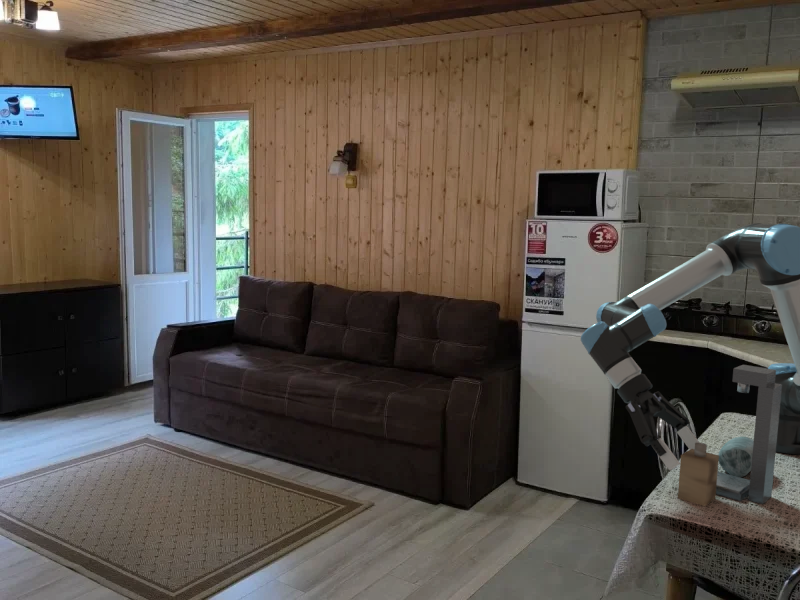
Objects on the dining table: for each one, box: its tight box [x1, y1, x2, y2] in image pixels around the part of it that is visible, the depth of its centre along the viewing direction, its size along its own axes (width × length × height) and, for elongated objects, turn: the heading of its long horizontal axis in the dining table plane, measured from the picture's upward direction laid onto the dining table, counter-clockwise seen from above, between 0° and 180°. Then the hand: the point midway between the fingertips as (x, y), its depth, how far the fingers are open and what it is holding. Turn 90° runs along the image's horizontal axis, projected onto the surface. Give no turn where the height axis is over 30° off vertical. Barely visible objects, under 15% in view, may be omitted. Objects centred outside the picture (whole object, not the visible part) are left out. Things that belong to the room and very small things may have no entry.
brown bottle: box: [677, 442, 719, 507], centre depth 157 cm, size 6×6×12 cm
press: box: [716, 364, 782, 505], centre depth 161 cm, size 10×14×29 cm
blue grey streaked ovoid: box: [717, 436, 754, 478], centre depth 175 cm, size 14×10×10 cm
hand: (687, 459), depth 158 cm, fingers open, 13 cm apart
